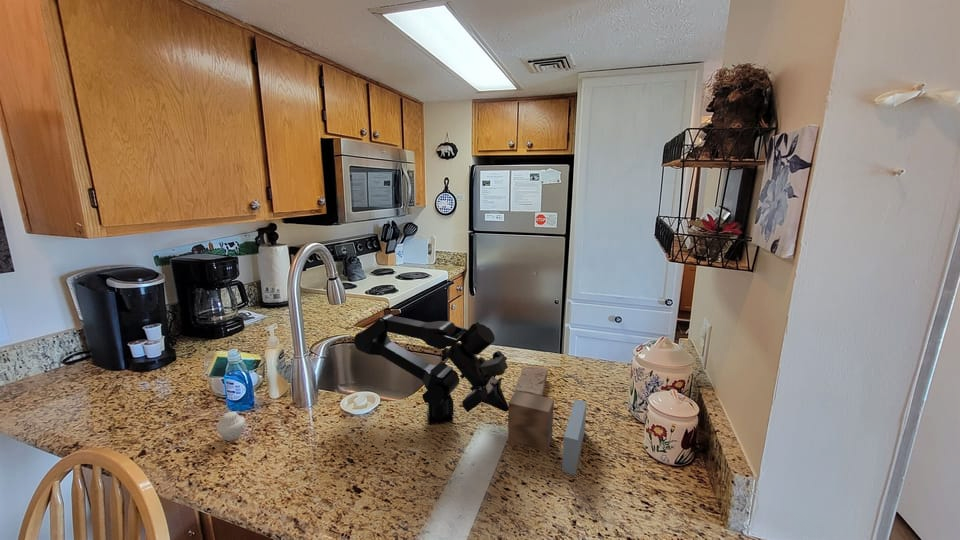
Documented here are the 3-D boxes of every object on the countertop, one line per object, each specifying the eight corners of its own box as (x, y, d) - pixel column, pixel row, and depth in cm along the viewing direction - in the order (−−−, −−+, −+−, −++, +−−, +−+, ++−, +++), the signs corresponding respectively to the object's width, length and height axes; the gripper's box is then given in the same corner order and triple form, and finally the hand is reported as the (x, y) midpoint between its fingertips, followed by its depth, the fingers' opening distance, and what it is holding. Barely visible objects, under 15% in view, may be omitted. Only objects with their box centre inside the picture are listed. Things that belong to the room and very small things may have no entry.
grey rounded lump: (251, 434, 98) (247, 410, 96) (225, 448, 93) (221, 423, 91) (240, 426, 101) (236, 403, 100) (214, 439, 96) (209, 414, 95)
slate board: (561, 471, 85) (563, 436, 83) (572, 429, 100) (574, 399, 98) (575, 475, 84) (577, 440, 82) (584, 432, 99) (586, 401, 97)
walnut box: (507, 441, 95) (508, 403, 93) (514, 428, 101) (515, 390, 98) (547, 452, 92) (548, 412, 89) (552, 437, 97) (553, 398, 95)
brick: (541, 408, 110) (541, 393, 109) (512, 403, 112) (513, 389, 111) (547, 380, 126) (548, 367, 125) (522, 377, 128) (522, 364, 127)
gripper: (473, 362, 87) (519, 415, 85) (500, 333, 103) (538, 377, 102) (444, 386, 91) (486, 437, 90) (474, 355, 108) (510, 397, 106)
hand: (507, 410), depth 97 cm, fingers closed
